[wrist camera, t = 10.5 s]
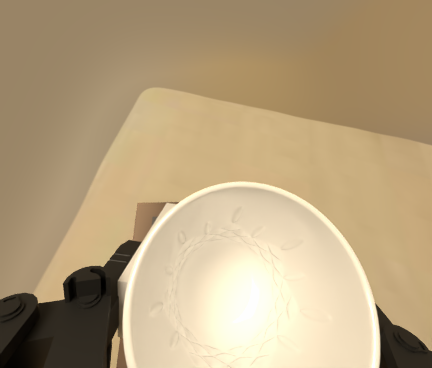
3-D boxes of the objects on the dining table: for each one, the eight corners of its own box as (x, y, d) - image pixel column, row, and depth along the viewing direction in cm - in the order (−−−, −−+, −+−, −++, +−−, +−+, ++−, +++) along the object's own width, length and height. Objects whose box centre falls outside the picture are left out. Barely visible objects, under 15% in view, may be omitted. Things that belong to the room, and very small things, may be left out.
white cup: (267, 238, 17) (345, 188, 8) (276, 355, 14) (427, 491, 5) (174, 232, 17) (150, 173, 8) (158, 352, 13) (80, 496, 4)
